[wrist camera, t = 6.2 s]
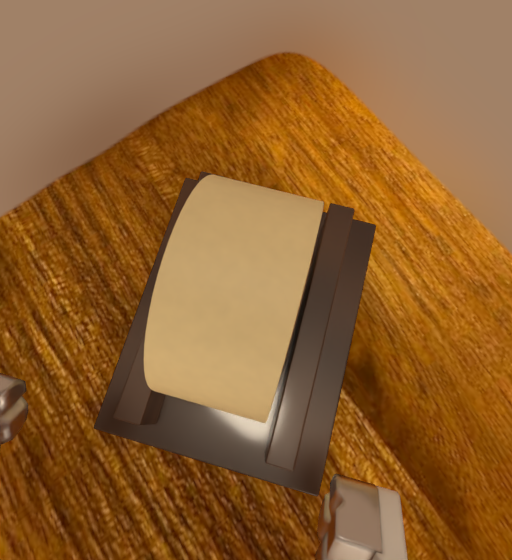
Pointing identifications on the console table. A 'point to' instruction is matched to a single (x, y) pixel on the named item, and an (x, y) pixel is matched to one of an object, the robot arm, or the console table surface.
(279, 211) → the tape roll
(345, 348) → the tape holder
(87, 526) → the console table surface
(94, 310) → the console table surface
